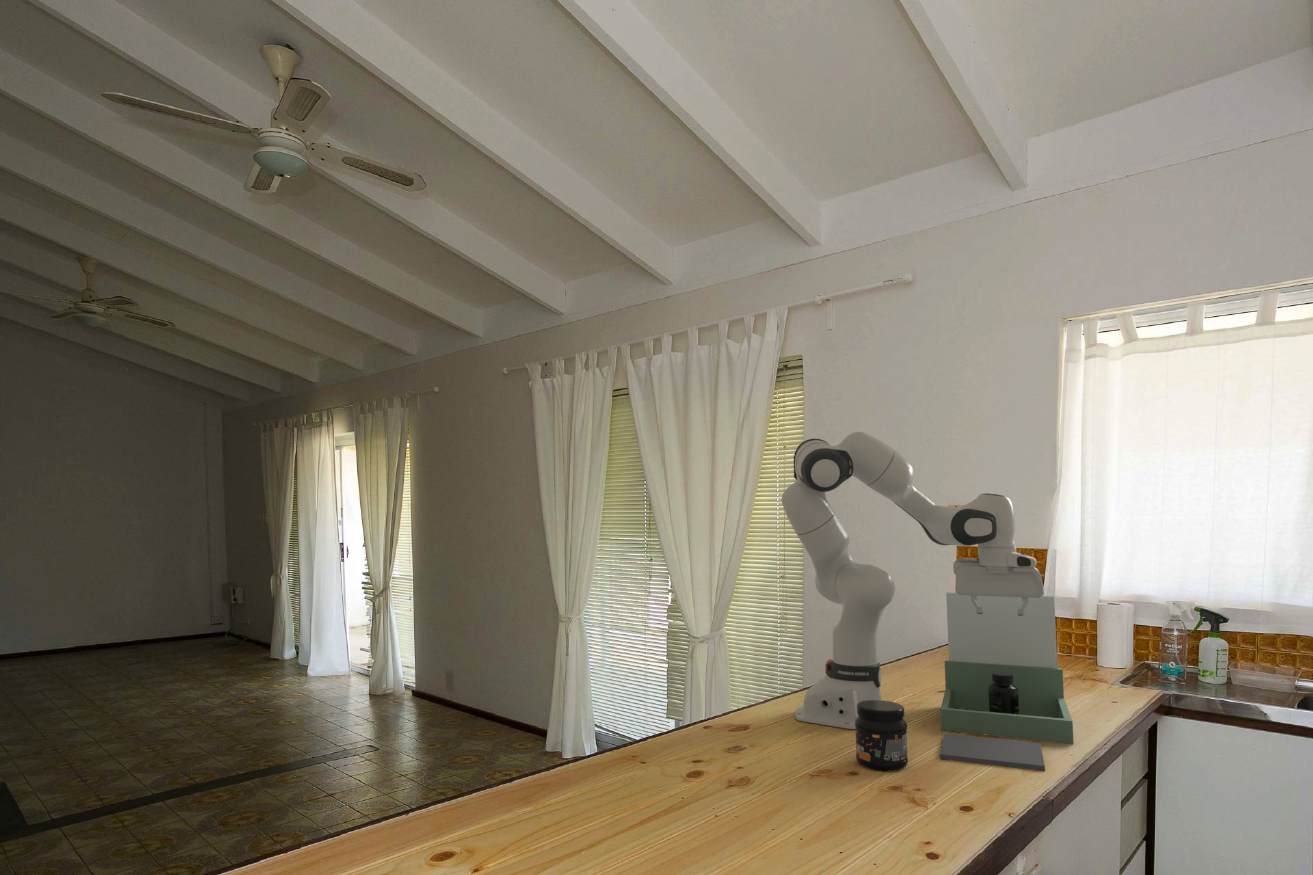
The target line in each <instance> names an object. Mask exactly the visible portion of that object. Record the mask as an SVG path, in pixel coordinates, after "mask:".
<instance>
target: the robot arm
mask: <svg viewBox="0 0 1313 875" xmlns="http://www.w3.org/2000/svg"><path fill="white" fill-rule="evenodd" d="M914 474H915V473H914V468H913V466H912V464H911V463H910V462H909V460H907V459H906V458H905V457H904V456H903V455H902V454H901V453H899V452H898V451H897V450H895V449H893V448H892V446H889V444H886V443H885V442H883V441H881V440H880V439H878V438H876V437H873V436H872V435H871V434H868V433H865V432H863V431H854V432H852V433H850V434H848V435H847V436H846V437H845V438H844V439H842V441H841V442H840V443H839V444H836V445H831V444H830V443H829V442H827V441H826V440H824V439H821V438H809V439H807V440H804V441H803V442H801V443H800V444H799V445H798V446H797V448H796V450H795V452H794V455H793V478H794V479H795V481H794V482H793V483H792V484H790V485H789V486H787V488H786V489H785V490H784V492H783V493H782V496H781V505H782V507H783V510H784V513H785V514H786V517H787V519H788V521H789V523H790V526H791V527H792V528H793V530H794V532H795V534H796V536H797V537H798V540H800V542H801V543H802V546H803V547H804V549H805V550H806V552H807V554H808V556H809V557H810V560H811V562H812V565H813V567H814V571H815V574H816V575H815V579H814V580H815V581H814V582H815V587H816V589H817V591H818V593H819V594H820V596H823V598H825V599H827V600H828V601H830V602H832V603H834V604H837V605H838V604H839V605H842V612H841V616H840V619H839V621H838V623H837V624H836V625H835V626H834V627H833V630H832V655H833V656H832V658H829V659H828V660H827V661H826V663H825V664H824V665H825V667H824V670H825V674H826V675H825V676H824V677H822V678H821V679H819V680H818V681H817V682H815V683H814V684H813V685H812V686H810V687H809V688H808V689H807V690H806V692H805V695H804V699H803V705H802V706H800V707H798V708H797V709H796V710H795V712H794V719H795V720H796V721H799V722H804V723H805V722H806V723H812V724H816V725H824V726H829V727H834V728H835V727H836V728H842V729H847V730H856V726H855V719H856V718H857V717H858V714H857V704H858V703H859V702H862V701H867V700H882V694H881V688H880V687H881V685H882V672H881V670H882V669H881V663H880V662H879V643H878V642H879V629H880V628H879V627H880V623H881V619H882V617H883V614H884V611H885V609H886V608H887V606H889V604H890V603H891V602H892V601H893V599H894V596H895V592H896V589H895V588H896V587H895V582H894V579H893V577H892V576H891V575H890V574H889V572H888V571H885V570H883V569H881V568H880V567H877V566H876V565H873V564H872V565H871V564H865V563H858V562H856V561H855V560H854V559H853V556H852V555H851V553H850V549H849V543H850V536H849V533H848V531H847V529H846V528H845V527H844V525H843V523H842V522H841V520H840V519H839V517H838V516H837V514H836V512H835V511H834V509H833V507H832V505H831V504H830V502H829V500H828V498H827V496H826V493H827V492H831V491H833V490H835V489H837V488H838V487H839V486H841V485H842V484H843V483H844V482H845V481H847V480H849V479H850V478H851V477H855V478H856V479H857V480H858V481H860V482H861V483H863V484H865V485H866V486H867V487H869V488H870V489H872V490H873V491H875V492H876V493H878V494H879V495H881V496H883V497H885V498H887V499H888V500H890V501H891V502H893V503H894V504H895V505H896V506H898V507H899V508H900V509H901V510H903V512H905V513H906V514H908V515H909V516H910V517H911V518H913V520H915V521H916V522H917V523H918V524H919V525H920V526H921V527H922V529H923V531H924V533H925V535H926V536H927V537H928V539H930V541H932V542H933V543H935V544H936V545H940V546H961V547H962V546H963V547H972V546H976V545H977V555H978V557H977V558H976V557H975V558H974V557H972V558H971V557H970V558H965V557H960V558H959V559H957V560H955V561H954V562H953V564H952V565H953V573H954V574H955V576H956V577H955V593H957V594H958V595H971V601H972V602H973V604H974V605H975V607H976V614H983V611H982V606H978V604H977V602H976V601H975V600H977V596H1001V597H1022V602H1024V603H1023V605H1022V606H1021V608H1017V611H1018V612H1017V614H1018V616H1024V609H1025V607H1026V605H1027V604H1028V597H1030V598H1041V597H1042V596H1045V595H1044V594H1045V589H1044V583H1043V579H1042V574H1041V573H1040V571H1039V570H1038V568H1037V567H1036V566H1037V564H1038V562H1037V561H1038V560H1037V559H1036V558H1035V557H1033V556H1031V555H1027V554H1024V553H1022V552H1017V544H1016V542H1015V532H1016V520H1015V511H1014V506H1013V503H1012V501H1011V499H1010V498H1009V497H1007V495H1006V496H1005V495H1001V494H997V493H985V492H984V493H980V494H978V496H977V497H976V498H974V499H973V500H971V501H970V502H968V503H966V504H964V505H960V507H953V506H952V507H951V506H949V507H948V506H945V505H944V506H943V505H940V504H936V503H934V502H933V501H932V500H931V499H929V497H927V496H926V495H924V494H923V493H922V492H921V491H920V490H918V489H917V488H916V487H914V485H913V481H914V476H915V475H914Z"/></svg>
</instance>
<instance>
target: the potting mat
mask: <svg viewBox="0 0 1313 875" xmlns="http://www.w3.org/2000/svg"><path fill="white" fill-rule="evenodd" d="M1043 754H1044V753H1043V749H1042V746H1041V743H1039V742H1031V741H1020V740H1009V739H999V738H991V737H989V738H988V737H981V736H971V735H969V736H968V735H961V734H952V733H943V737H942V744H941V748H940V752H939V759H940V760H945V761H954V762H964V763H970V764H971V763H973V764H981V765H988V766H989V765H990V766H998V767H1007V768H1015V769H1023V770H1025V769H1026V770H1033V771H1041V772H1042V771H1043V772H1046V766H1045V760H1044V756H1043Z"/></svg>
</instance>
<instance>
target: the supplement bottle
mask: <svg viewBox="0 0 1313 875" xmlns="http://www.w3.org/2000/svg"><path fill="white" fill-rule="evenodd" d="M992 681H993V683H992V684H990V685H989V687H988V694H989V712H995V713H1006V714H1017V715H1020V714H1019V694H1018V689H1017V687H1016V686H1014V685H1013V682H1014V680H1013V674H1010V673H1005V672H994V673H992Z"/></svg>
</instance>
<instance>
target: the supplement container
mask: <svg viewBox="0 0 1313 875" xmlns="http://www.w3.org/2000/svg"><path fill="white" fill-rule="evenodd" d="M857 714H858V717H857V718H856V719H855V726H856V729H855V758H856V761H857V763H858V764H859V765H860V766H862V767H863V768H866V769H869V770H873V771H878V772H896V771H900V770H902V769H904V768H906V767H907V765H908V763H909V758H908V738H907V737H908V736H907V735H908V733H907V729H908V724H907V722H906V721H905V718H904V717H905V707H904V706H903V705H902V704H900V703H898V702H895V701H891V700H882V699H881V700H867V701H862V702H859V703H858V704H857Z"/></svg>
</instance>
